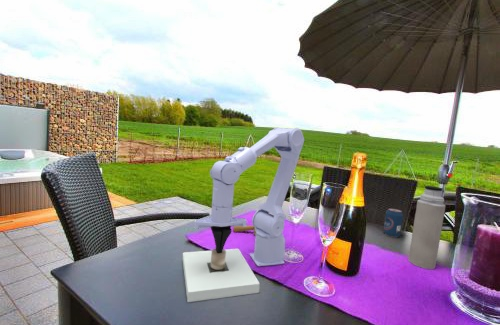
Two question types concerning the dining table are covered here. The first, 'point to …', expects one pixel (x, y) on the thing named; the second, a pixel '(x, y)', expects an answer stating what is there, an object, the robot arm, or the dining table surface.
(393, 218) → the soda can
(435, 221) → the thermos bottle
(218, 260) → the birch peg
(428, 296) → the dining table surface
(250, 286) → the hole board
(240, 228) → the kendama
